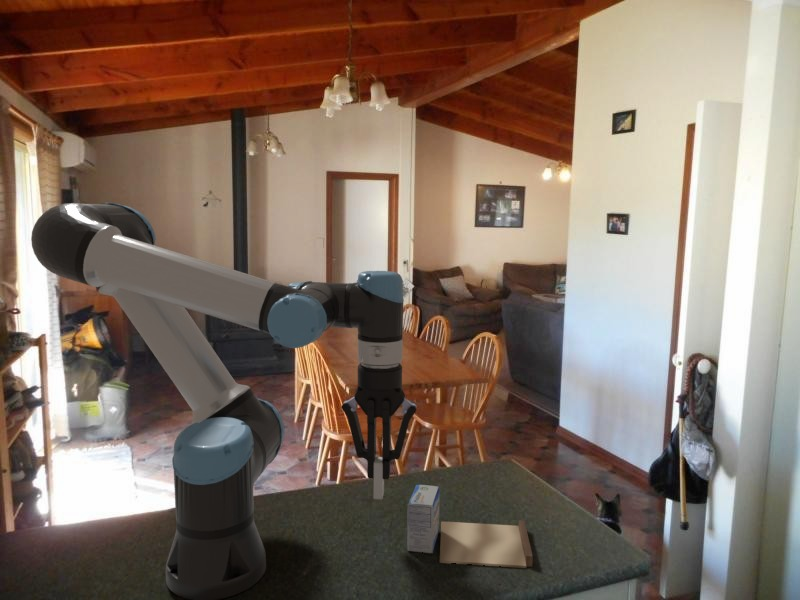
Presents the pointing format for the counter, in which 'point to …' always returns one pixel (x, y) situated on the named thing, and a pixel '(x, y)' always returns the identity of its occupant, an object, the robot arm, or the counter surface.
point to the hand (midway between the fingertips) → (378, 495)
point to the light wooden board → (481, 544)
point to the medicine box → (423, 519)
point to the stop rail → (525, 543)
